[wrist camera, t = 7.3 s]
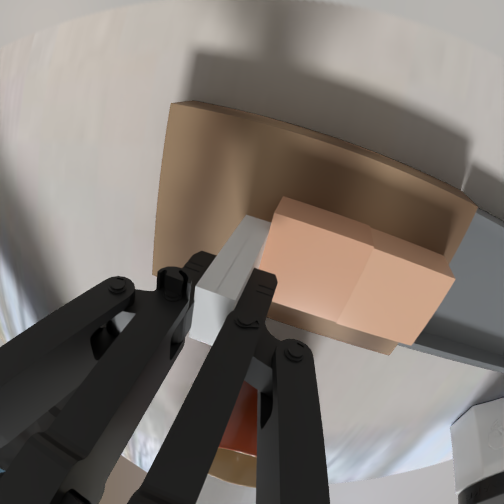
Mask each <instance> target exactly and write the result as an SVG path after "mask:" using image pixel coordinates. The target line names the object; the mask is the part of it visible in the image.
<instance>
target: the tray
mask: <svg viewBox="0 0 504 504" xmlns="http://www.w3.org/2000/svg"><path fill="white" fill-rule="evenodd" d="M449 267H450V269H451V271H452V273H453V275H454V277H455V281H454V283H453V284H452V286H451V288H450V289H449V291H448V293H447V294H446V296H445V297H444V299H443V301H442V302H441V304H440V305H439V307H438V308H437V310H436V311H435V313H434V314H433V316H432V317H431V319H430V320H429V322H428V323H427V325H426V326H425V327H424V329H423V330H422V332H421V333H420V334H419V336H418V337H417V339H416V340H415V341H414V343H413V344H412V345H411V346H410V345H407V344H403V343H400V342H399V343H398V344H397V345H399V346H403V347H406V348H410V349H413V350H417V351H420V352H424V353H428V354H431V355H435V356H439V357H442V358H446V359H450V360H453V361H457V362H461V363H465V364H469V365H473V366H477V367H480V368H484V369H489V370H493V371H497V372H501V373H504V222H503V221H502V220H500V219H498V218H496V217H495V216H493V215H491V214H489V213H487V212H485V211H484V210H482V209H480V208H478V209H477V211H476V213H475V215H474V217H473V219H472V221H471V223H470V226H469V228H468V230H467V232H466V234H465V236H464V238H463V239H462V241H461V243H460V245H459V247H458V249H457V251H456V253H455V255H454V256H453V258H452V260H451V262H450V264H449Z"/></svg>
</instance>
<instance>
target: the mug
mask: <svg viewBox="0 0 504 504" xmlns="http://www.w3.org/2000/svg"><path fill="white" fill-rule="evenodd" d="M257 400H258V390H257V389H256V388H255V387H253V386H252V385H250V384H249V383H247V382H246V381H243V384H242V387H241V390H240V392H239V395H238V398H237V400H236V403H235V406H234V408H233V411H232V414H231V416H230V419H229V422H228V424H227V427H226V429H225V432H224V435H223V437H222V440H221V442H220V445H219V447H218V450H217V452H216V455H215V458H214V460H213V463H212V465H211V468H210V470H209V473H208V474H209V475H211V476H213V477H215V478H217V479H220V480H222V481H225V482H229V483H232V484H236V485H240V486H245V487H251V488H256V465H257Z"/></svg>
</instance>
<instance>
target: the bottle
mask: <svg viewBox="0 0 504 504" xmlns="http://www.w3.org/2000/svg"><path fill="white" fill-rule="evenodd" d="M196 504H256V488H251V487H245V486H240V485H236V484H232V483H229V482H225V481H222V480H220V479H217V478H215V477H213V476H211V475H209V474H208V475H207V477H206V480H205V482H204V485H203V487H202V490H201V492H200V495H199V497H198V499H197V502H196Z"/></svg>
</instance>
